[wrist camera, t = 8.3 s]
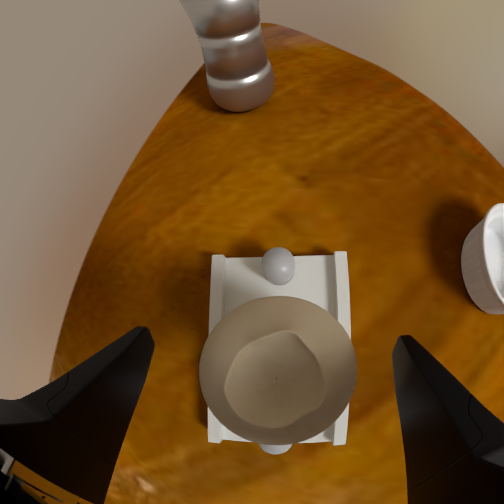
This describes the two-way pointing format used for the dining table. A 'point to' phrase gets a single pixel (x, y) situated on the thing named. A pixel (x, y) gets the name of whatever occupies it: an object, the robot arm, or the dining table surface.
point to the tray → (281, 284)
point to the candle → (278, 370)
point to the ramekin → (486, 261)
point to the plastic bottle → (232, 52)
